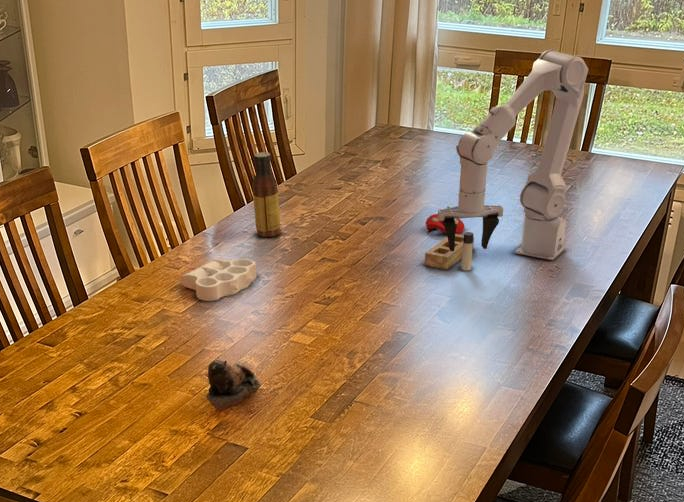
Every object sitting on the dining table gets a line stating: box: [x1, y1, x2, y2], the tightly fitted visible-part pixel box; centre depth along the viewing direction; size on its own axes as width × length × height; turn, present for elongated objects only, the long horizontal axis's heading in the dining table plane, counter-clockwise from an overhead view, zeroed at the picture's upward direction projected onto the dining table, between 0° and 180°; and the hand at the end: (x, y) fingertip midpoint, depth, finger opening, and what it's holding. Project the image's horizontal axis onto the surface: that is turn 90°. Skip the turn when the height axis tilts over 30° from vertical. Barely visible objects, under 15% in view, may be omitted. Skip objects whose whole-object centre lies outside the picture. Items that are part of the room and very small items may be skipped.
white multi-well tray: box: [179, 258, 257, 302], centre depth 226 cm, size 3×18×15 cm
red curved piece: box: [425, 206, 466, 235], centre depth 252 cm, size 12×4×10 cm
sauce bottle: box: [252, 151, 282, 238], centre depth 247 cm, size 7×6×20 cm
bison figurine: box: [205, 359, 262, 410], centre depth 180 cm, size 12×7×10 cm, turn 150°
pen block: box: [424, 234, 475, 271], centre depth 237 cm, size 6×15×3 cm, turn 147°
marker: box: [460, 231, 475, 271], centre depth 229 cm, size 2×2×8 cm
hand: (467, 248), depth 229 cm, fingers open, 7 cm apart
